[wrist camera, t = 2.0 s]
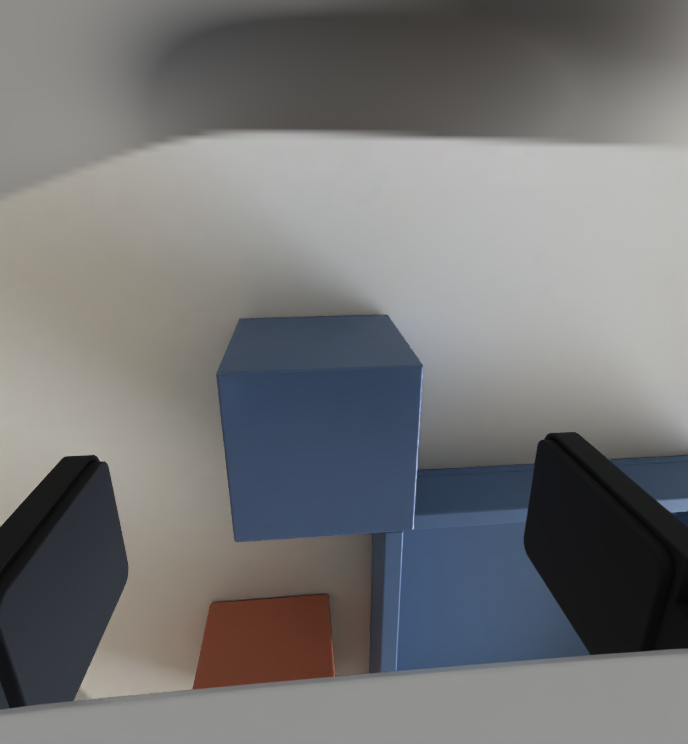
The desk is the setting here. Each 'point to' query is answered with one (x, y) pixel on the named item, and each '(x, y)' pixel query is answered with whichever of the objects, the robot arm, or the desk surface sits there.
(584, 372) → the desk surface
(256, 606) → the terracotta block
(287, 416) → the blue block
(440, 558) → the blue tray
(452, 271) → the desk surface
